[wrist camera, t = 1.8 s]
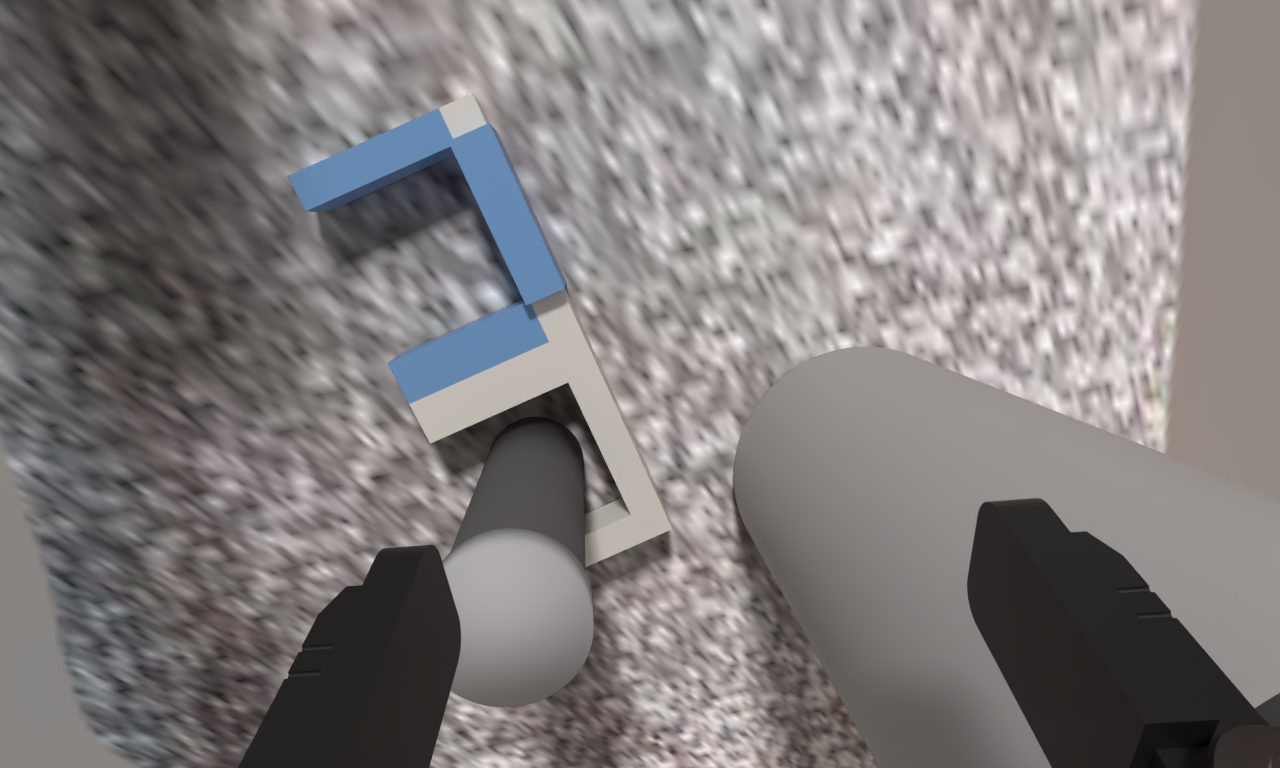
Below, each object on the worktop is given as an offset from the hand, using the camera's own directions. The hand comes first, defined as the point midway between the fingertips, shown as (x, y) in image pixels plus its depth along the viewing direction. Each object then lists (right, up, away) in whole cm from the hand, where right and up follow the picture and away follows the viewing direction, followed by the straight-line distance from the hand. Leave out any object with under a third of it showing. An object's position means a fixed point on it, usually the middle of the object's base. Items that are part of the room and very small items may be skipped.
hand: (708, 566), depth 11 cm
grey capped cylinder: (-6, -1, +24) cm, 25 cm away
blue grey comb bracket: (-8, +4, +23) cm, 25 cm away
